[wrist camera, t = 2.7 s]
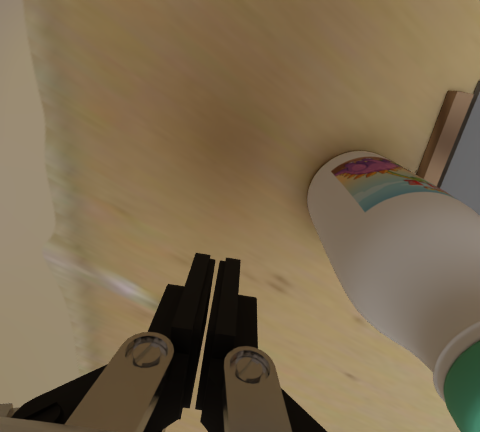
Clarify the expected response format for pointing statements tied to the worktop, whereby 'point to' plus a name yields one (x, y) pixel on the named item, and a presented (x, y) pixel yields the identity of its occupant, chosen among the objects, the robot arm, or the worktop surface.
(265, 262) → the worktop surface
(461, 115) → the rail
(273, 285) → the worktop surface
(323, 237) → the milk bottle
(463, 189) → the mat
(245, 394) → the robot arm
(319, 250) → the worktop surface
